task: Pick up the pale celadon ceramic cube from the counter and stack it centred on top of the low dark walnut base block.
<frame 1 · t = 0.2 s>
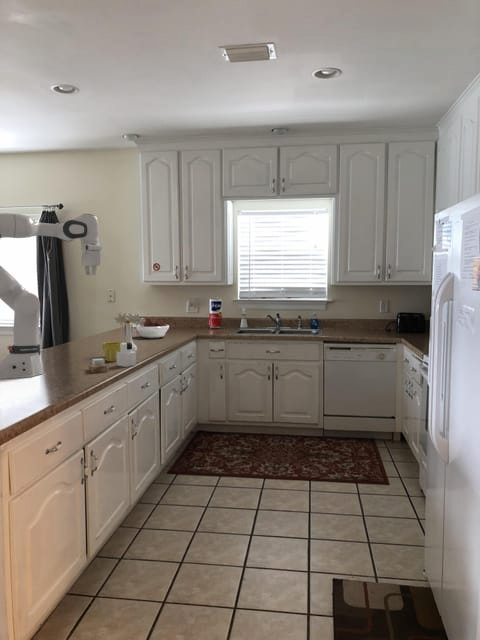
hand: (90, 275, 254), 47 cm above the worktop, tool pointing down, fingers open, 8 cm apart
plant pot: (112, 360, 283), on the worktop
flower vase: (130, 354, 305), on the worktop
medicine bottle: (126, 365, 267), on the worktop
base: (98, 371, 250), on the worktop
cube: (98, 369, 257), on the worktop
white bowl: (152, 338, 388), on the worktop
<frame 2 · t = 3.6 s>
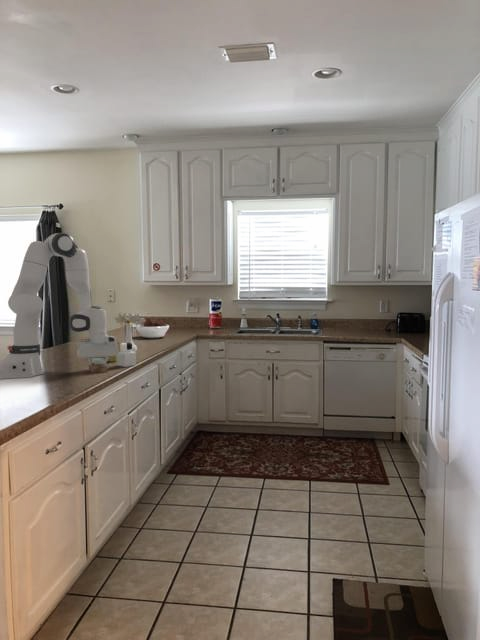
hand: (98, 365, 257), 2 cm above the worktop, tool pointing down, fingers closed on cube, 5 cm apart
cube: (98, 369, 257), on the worktop, touching gripper
everything else where it was.
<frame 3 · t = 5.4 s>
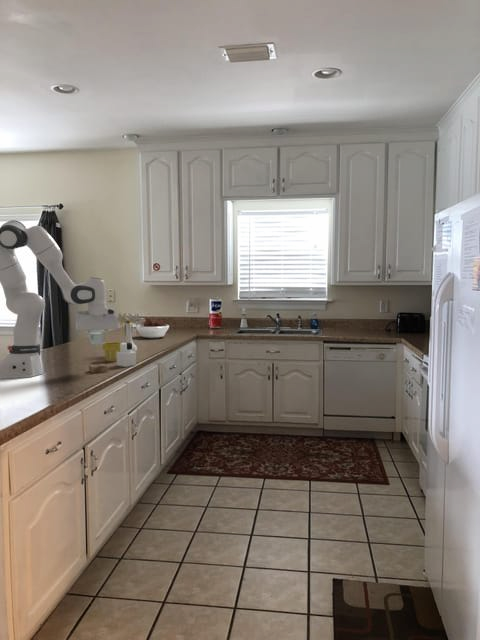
hand: (97, 338, 251), 16 cm above the worktop, tool pointing down, fingers closed on cube, 5 cm apart
cube: (96, 343, 252), point 13 cm above the worktop, tilted 9°, touching gripper
everything else where it was.
when the fingers open (6 cm above the worktop, at t = 7.2 s): cube stays where it is, resting on base.
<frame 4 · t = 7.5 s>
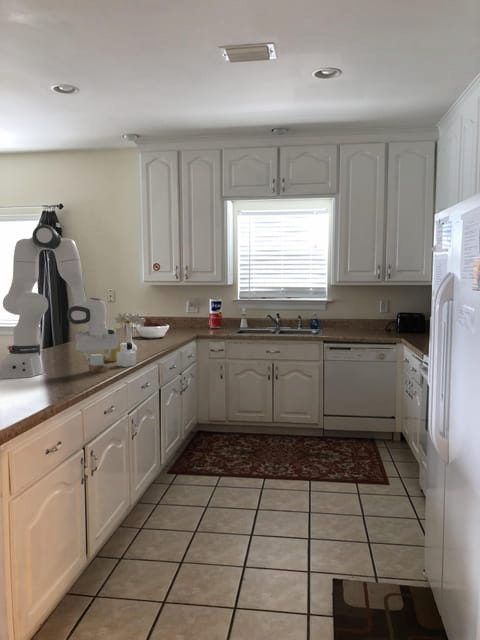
hand: (97, 359, 250), 6 cm above the worktop, tool pointing down, fingers open, 8 cm apart
cube: (96, 364, 251), point 3 cm above the worktop, touching base
everything else where it was.
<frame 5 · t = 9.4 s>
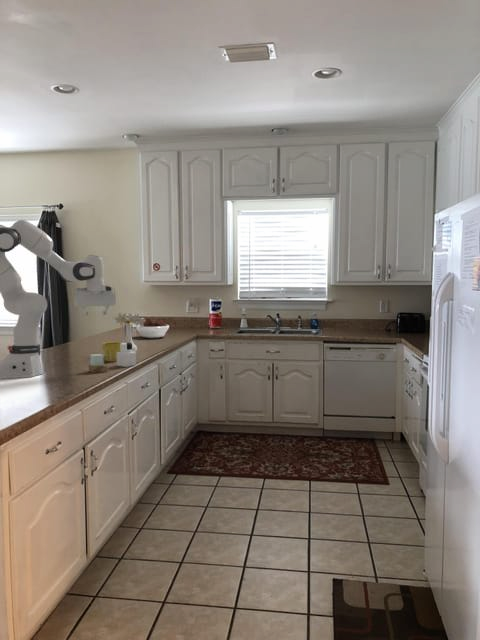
hand: (95, 314, 259), 27 cm above the worktop, tool pointing down, fingers open, 8 cm apart
nothing on the worktop moved.
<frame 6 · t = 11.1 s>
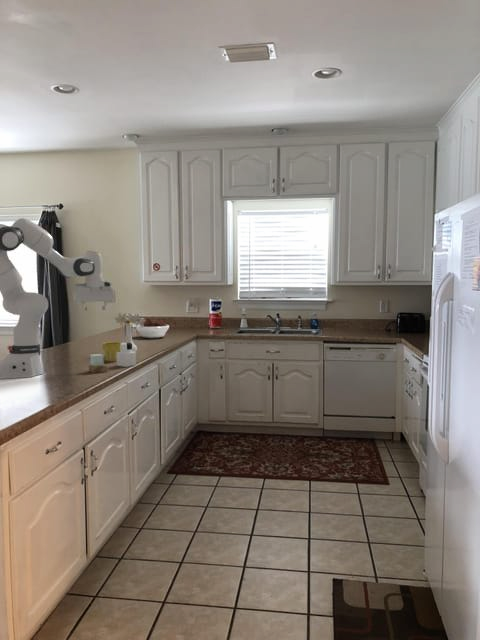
hand: (94, 310, 263), 29 cm above the worktop, tool pointing down, fingers open, 8 cm apart
nothing on the worktop moved.
at the end: cube 1.5 cm off-centre on the base, point 3.0 cm above the base's base; cube tilted 0°; the gripper is holding nothing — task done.
